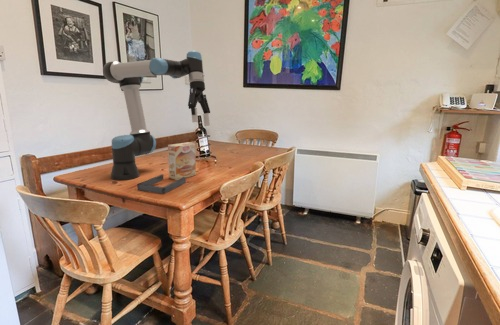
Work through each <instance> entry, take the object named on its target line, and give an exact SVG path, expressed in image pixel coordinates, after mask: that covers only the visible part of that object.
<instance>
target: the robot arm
mask: <svg viewBox="0 0 500 325" xmlns="http://www.w3.org/2000/svg"><path fill="white" fill-rule="evenodd" d="M102 74H103V76H104V78H105V79H106V80H107V81H109V82H111V83H114V84H118V85H119V88H120V89H121V90H122V91H123V95H124V99H125V105H126V111H127V114H128V118H129V123H130V124H129V125H130V130H131V131H130V133H129V134H123V135H118V136H115V137H113V138H112V139H111V146H110V147H111V150H112V151H111V152H112V163H113V164H112V168H111V172H110V178H111V179H112V180H117V181H127V180H133V179H136V178H138V177H140V170H139V169H138V166H137V163H136V157H139V156H144V155H149V154H151V153H153V152H154V151H155V149H156V148H157V147H156V146H157V140H156V138H155V137H154V136H153V135H152V134H151V131H150V130H149V129H148V128H147V124H146V119H145V114H144V109H143V104H142V99H141V92H140V88H142V83H143V81H144V77H153V76H170V78H172V79H174V80H175V79H180V78H182V77H185V76H188V82H189V95H188V96H189V97H188V103H187V106H188V109H189V110H190V111H191V121H192V123H198V122H199V116H198V109H197V108H196V107H197V104H200V107H201V110H202V112H203V125H204V127H207V126H211V125H210V123H211V122H210V116H209V115H210V114H211V110H210V107H209V103H208V99H207V95H206V94H204V93H203V92H204V91H206V85H205V74H204V66H203V57H202V54H201V52H199V51H197V50H190V51H187V53H186V58H185V59H183V60H182V59H181V60H180V61H177V60H173V59H167V58H161V57H153V58H151V59H147V60H146V59H145V60H137V61H128V62H120V61H108V62H106V63H105V64H104V66H103V68H102Z"/></svg>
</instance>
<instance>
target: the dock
mask: <svg viewBox="0 0 500 325" xmlns="http://www.w3.org/2000/svg"><path fill="white" fill-rule="evenodd" d="M162 181H164V174H162V173H160V174H159V175H155V176H154V177H152V178H150V179H147V180H144V181H141V182H140V183H137V191H142V192H148V193H154V194H162V195H165V194H167V193H168V192H171V191H172V190H174V189H176V188H178V187H181V186H182V185H184V184H186V177H183V178H181V179H179V180H175V181H173V182H171V183H168V184H167V185H165V186H157V185H154V184H157V183H159V182H162Z"/></svg>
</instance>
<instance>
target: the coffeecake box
mask: <svg viewBox="0 0 500 325" xmlns="http://www.w3.org/2000/svg"><path fill="white" fill-rule="evenodd" d="M167 153H168V156H167V157H168V158H167V160H168V178H169V179H171V180H175V181H177V180H179V179H181V178H183V177H186V178H190V177H194V176H196V174H197V172H196V171H197V167H196V164H197V161H196V160H197V158H196V143H194V142H189V141H187V142H181V143H173V144H172V143H171V144H168V145H167Z"/></svg>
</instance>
